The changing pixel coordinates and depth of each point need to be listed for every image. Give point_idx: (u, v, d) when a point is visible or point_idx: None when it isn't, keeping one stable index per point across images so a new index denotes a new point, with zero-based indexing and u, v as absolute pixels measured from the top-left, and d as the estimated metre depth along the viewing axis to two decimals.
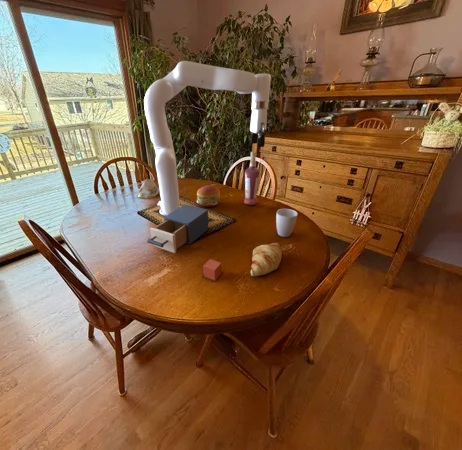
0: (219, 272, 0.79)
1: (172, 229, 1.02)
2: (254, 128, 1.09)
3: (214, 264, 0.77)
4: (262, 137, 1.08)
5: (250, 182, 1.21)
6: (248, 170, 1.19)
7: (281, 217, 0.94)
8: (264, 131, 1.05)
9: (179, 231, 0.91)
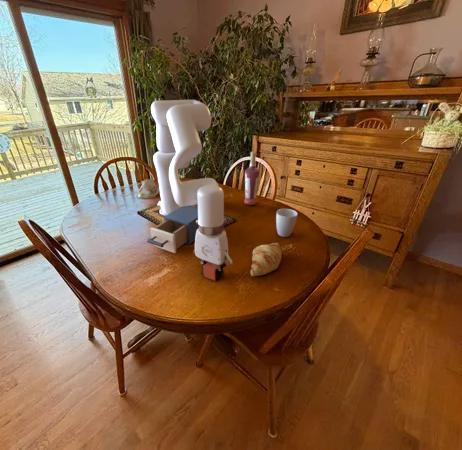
0: None
1: (172, 229, 1.02)
2: (214, 258, 0.72)
3: (214, 264, 0.77)
4: None
5: (250, 182, 1.21)
6: (248, 170, 1.19)
7: (281, 217, 0.94)
8: None
9: (179, 231, 0.91)
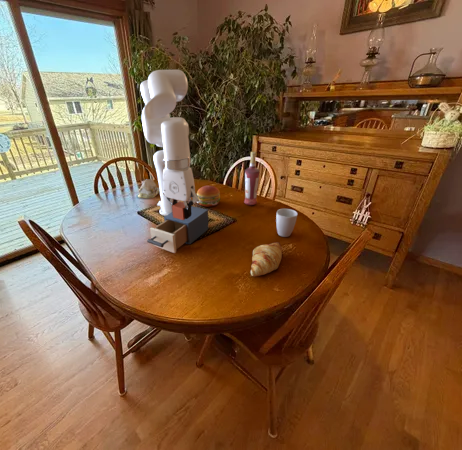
0: None
1: (172, 229, 1.02)
2: (180, 195, 0.75)
3: (183, 204, 0.80)
4: (190, 207, 0.79)
5: (250, 182, 1.21)
6: (248, 170, 1.19)
7: (281, 217, 0.94)
8: None
9: (179, 231, 0.91)
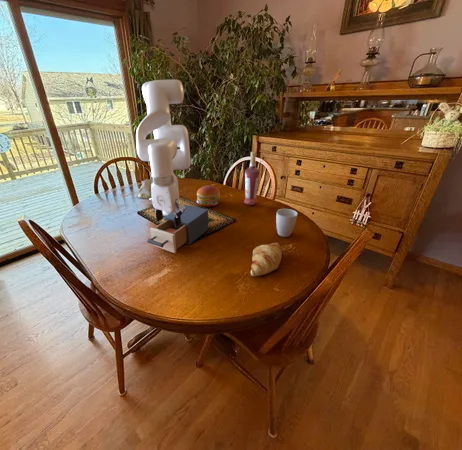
0: None
1: None
2: (166, 207, 0.85)
3: (171, 231, 0.94)
4: (179, 215, 0.87)
5: (250, 182, 1.21)
6: (248, 170, 1.19)
7: (281, 217, 0.94)
8: (183, 210, 0.85)
9: (179, 231, 0.91)
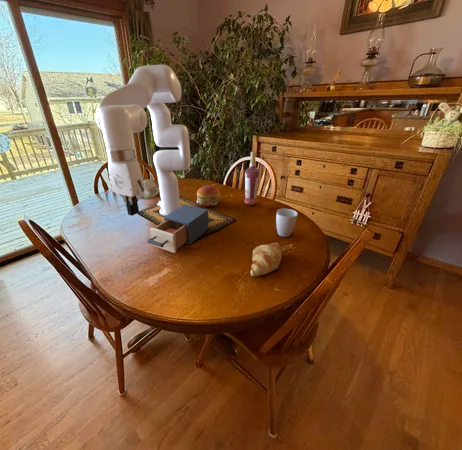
0: None
1: None
2: (126, 190, 0.68)
3: (171, 231, 0.94)
4: None
5: (250, 182, 1.21)
6: (248, 170, 1.19)
7: (281, 217, 0.94)
8: (140, 198, 0.71)
9: (179, 231, 0.91)
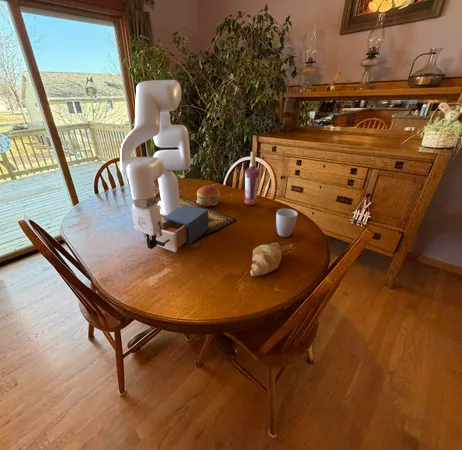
0: None
1: None
2: (148, 230, 0.79)
3: (172, 230, 0.94)
4: None
5: (250, 182, 1.21)
6: (248, 170, 1.19)
7: (281, 217, 0.94)
8: None
9: (180, 230, 0.91)
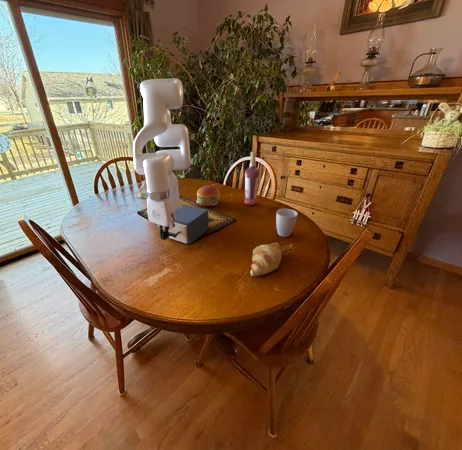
0: None
1: None
2: (162, 221, 0.85)
3: None
4: None
5: (250, 182, 1.21)
6: (248, 170, 1.19)
7: (281, 217, 0.94)
8: None
9: None
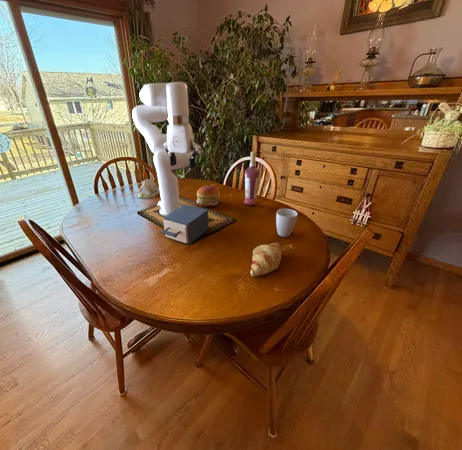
0: None
1: None
2: (181, 147, 0.89)
3: None
4: (194, 156, 0.91)
5: (250, 182, 1.21)
6: (248, 170, 1.19)
7: (281, 217, 0.94)
8: (198, 149, 0.89)
9: None
